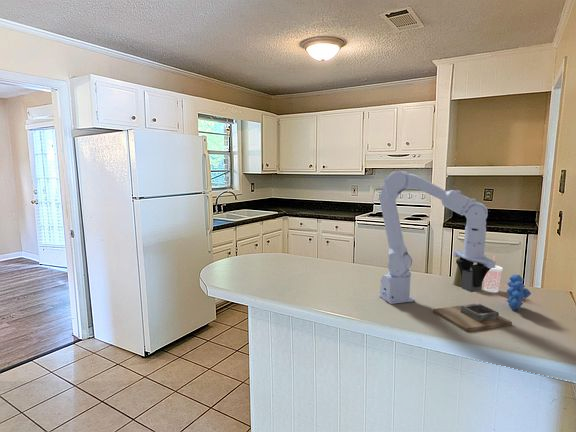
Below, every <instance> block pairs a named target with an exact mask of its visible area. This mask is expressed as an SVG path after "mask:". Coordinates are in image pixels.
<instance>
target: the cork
mask: <svg viewBox="0 0 576 432" xmlns="http://www.w3.org/2000/svg"><path fill="white" fill-rule="evenodd" d="M459 259H460V258H459V257H456V259H455V261H456V260H459ZM456 265H457V264H456ZM454 274H455V276H454V280H453V286H456V287H459V288H461V286H462V276H461V272H460V269H459V267H458V265H457V266H456V271H455V273H454Z"/></svg>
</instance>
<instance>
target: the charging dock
mask: <svg viewBox="0 0 576 432" xmlns="http://www.w3.org/2000/svg"><path fill="white" fill-rule="evenodd" d="M432 313H433V314H436V315H437V316H439V317H441V318H442V319H444V320H445V321H447V322H449V323H451V324H452V325H454V326H456V327H458V328H460V329H461V330H462V331H464V332H465V333H468V332H476V331H481V330H487V329H493V328H500V327H507V326H512V324H513V321H511V319H508V318H505V317H503V316H501V315H500V313H499V311H496V310H494V309H491V308H489V307H487V306H485V305H483V304H481V303H471V304H463V305H455V306H446V307H439V308H433V309H432Z"/></svg>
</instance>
